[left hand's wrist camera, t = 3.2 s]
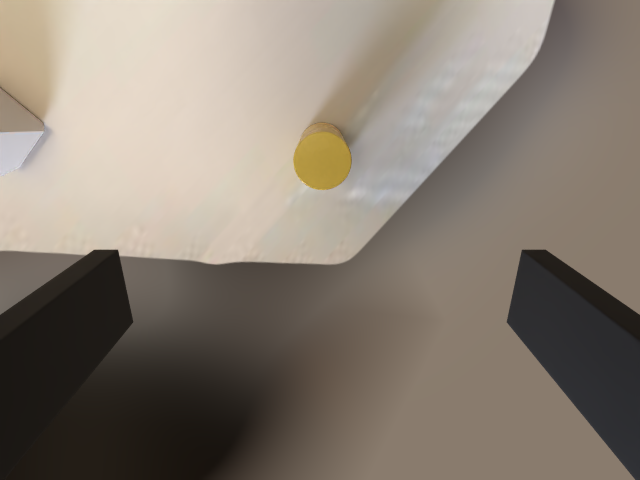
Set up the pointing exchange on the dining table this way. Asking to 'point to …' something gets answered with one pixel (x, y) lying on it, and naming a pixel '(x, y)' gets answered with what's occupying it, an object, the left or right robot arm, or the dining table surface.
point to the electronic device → (16, 133)
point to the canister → (322, 157)
